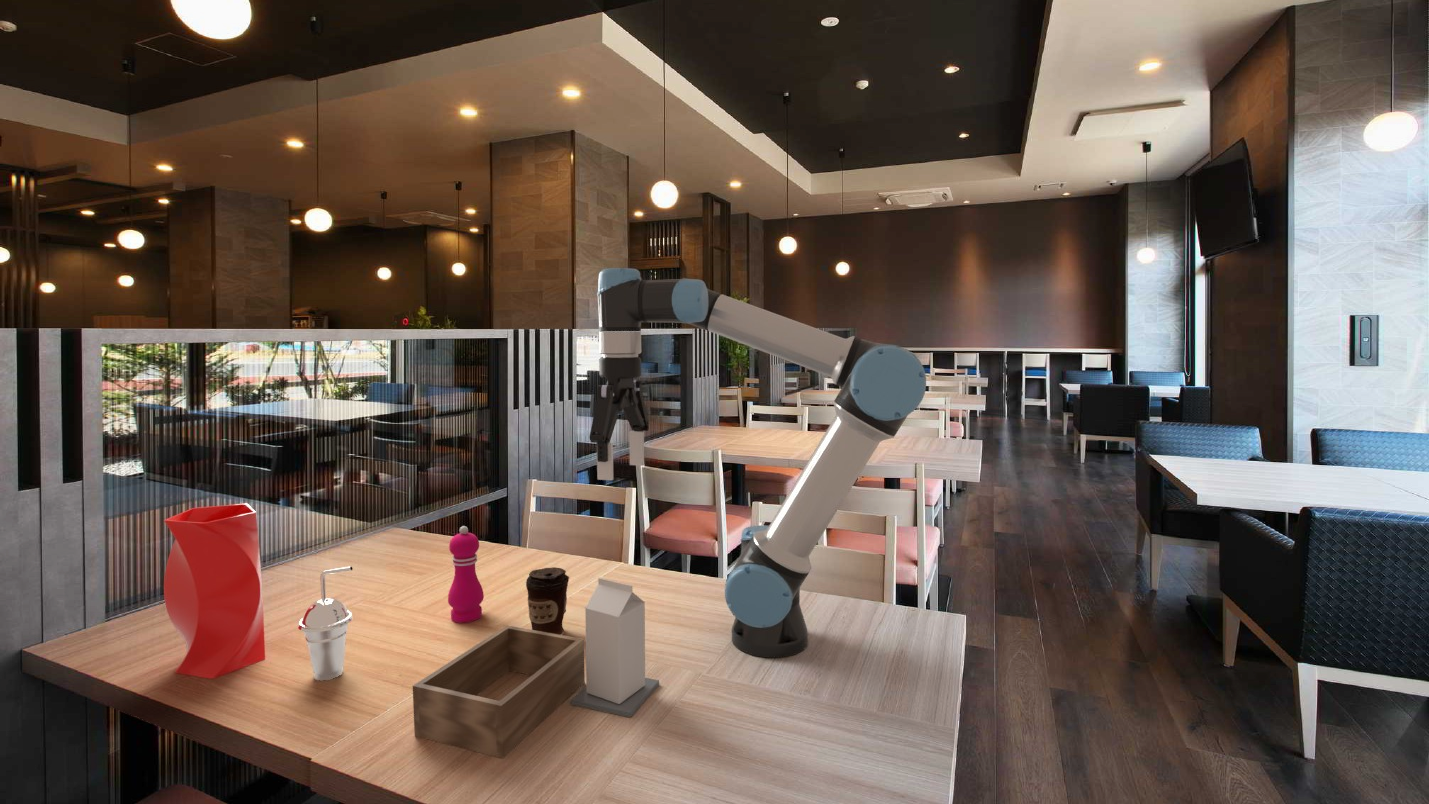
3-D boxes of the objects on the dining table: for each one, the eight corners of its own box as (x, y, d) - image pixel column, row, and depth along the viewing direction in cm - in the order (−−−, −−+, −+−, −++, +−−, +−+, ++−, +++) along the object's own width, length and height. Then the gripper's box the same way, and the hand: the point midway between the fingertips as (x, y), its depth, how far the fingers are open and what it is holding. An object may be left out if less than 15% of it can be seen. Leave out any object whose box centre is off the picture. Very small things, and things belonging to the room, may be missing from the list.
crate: (584, 682, 122) (583, 639, 121) (502, 758, 100) (501, 705, 100) (508, 667, 127) (506, 625, 126) (414, 735, 106) (412, 685, 105)
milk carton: (619, 705, 113) (618, 592, 111) (586, 693, 117) (584, 584, 115) (645, 686, 119) (645, 579, 117) (612, 675, 123) (611, 571, 121)
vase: (159, 668, 126) (147, 517, 123) (239, 635, 139) (229, 499, 136) (215, 684, 121) (203, 527, 118) (292, 649, 134) (283, 507, 131)
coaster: (659, 684, 121) (659, 680, 121) (630, 717, 111) (630, 712, 111) (603, 673, 125) (603, 669, 125) (570, 704, 115) (570, 699, 115)
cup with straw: (336, 659, 130) (330, 555, 128) (367, 670, 126) (362, 563, 124) (290, 679, 122) (283, 569, 120) (322, 692, 118) (316, 578, 116)
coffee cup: (558, 645, 136) (556, 581, 135) (518, 641, 138) (517, 578, 136) (575, 626, 145) (574, 566, 143) (538, 623, 146) (537, 563, 145)
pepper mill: (441, 620, 147) (437, 528, 145) (465, 608, 154) (462, 520, 152) (468, 626, 145) (465, 532, 142) (491, 613, 151) (488, 523, 149)
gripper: (629, 353, 138) (631, 458, 140) (567, 358, 114) (570, 485, 117) (664, 353, 136) (665, 460, 138) (608, 358, 112) (610, 488, 114)
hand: (622, 472), depth 127 cm, fingers open, 13 cm apart
